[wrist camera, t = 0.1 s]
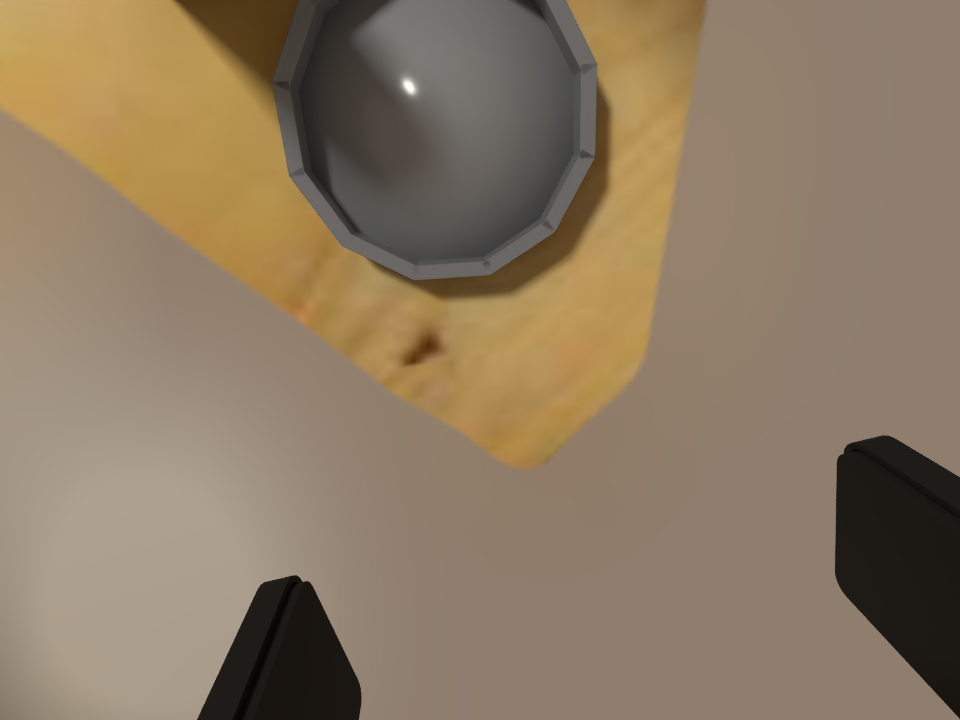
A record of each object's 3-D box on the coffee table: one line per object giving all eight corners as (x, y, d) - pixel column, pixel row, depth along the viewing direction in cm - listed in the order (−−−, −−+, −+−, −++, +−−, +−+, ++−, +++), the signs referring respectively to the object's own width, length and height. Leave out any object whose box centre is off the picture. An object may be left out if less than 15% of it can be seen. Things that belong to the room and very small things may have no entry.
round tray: (359, -126, 29) (349, -158, 27) (639, 53, 33) (656, 42, 31) (252, 193, 35) (235, 195, 32) (501, 313, 39) (505, 324, 37)
